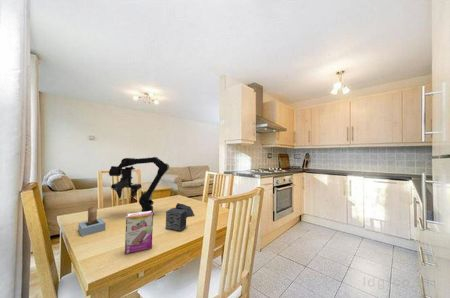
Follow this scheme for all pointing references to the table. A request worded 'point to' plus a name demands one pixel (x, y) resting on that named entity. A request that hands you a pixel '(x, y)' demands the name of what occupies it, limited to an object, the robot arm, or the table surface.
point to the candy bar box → (138, 231)
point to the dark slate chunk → (184, 207)
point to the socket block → (91, 227)
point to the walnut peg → (92, 215)
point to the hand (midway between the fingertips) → (126, 198)
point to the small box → (176, 219)
